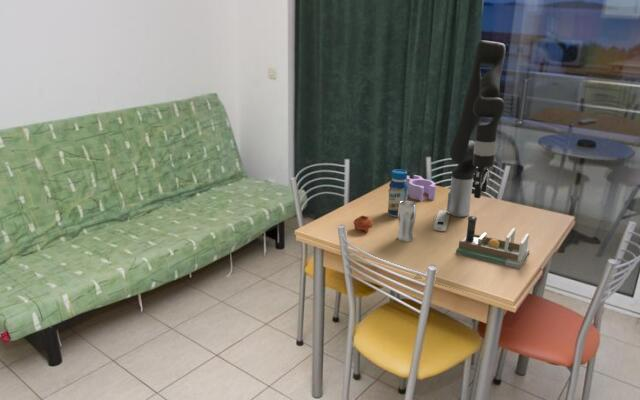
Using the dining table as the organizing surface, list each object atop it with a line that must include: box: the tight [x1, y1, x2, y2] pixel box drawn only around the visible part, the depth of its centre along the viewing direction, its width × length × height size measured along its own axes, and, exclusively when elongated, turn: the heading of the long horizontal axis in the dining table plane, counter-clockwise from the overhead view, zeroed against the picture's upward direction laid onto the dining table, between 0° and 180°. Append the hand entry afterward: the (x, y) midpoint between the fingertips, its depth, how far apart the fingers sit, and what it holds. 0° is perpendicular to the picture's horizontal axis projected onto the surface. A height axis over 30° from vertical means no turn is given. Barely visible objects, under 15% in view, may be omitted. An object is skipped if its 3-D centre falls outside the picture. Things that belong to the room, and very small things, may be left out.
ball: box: [488, 238, 499, 249], centre depth 195 cm, size 4×4×4 cm
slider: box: [462, 215, 488, 246], centre depth 197 cm, size 7×7×10 cm
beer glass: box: [397, 200, 417, 243], centre depth 205 cm, size 7×7×15 cm
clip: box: [406, 174, 437, 202], centre depth 258 cm, size 20×12×7 cm, turn 15°
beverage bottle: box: [387, 168, 408, 218], centre depth 230 cm, size 8×8×20 cm
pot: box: [353, 215, 374, 234], centre depth 214 cm, size 8×8×7 cm
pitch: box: [455, 227, 530, 269], centre depth 194 cm, size 23×16×10 cm
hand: (480, 194), depth 196 cm, fingers open, 8 cm apart
